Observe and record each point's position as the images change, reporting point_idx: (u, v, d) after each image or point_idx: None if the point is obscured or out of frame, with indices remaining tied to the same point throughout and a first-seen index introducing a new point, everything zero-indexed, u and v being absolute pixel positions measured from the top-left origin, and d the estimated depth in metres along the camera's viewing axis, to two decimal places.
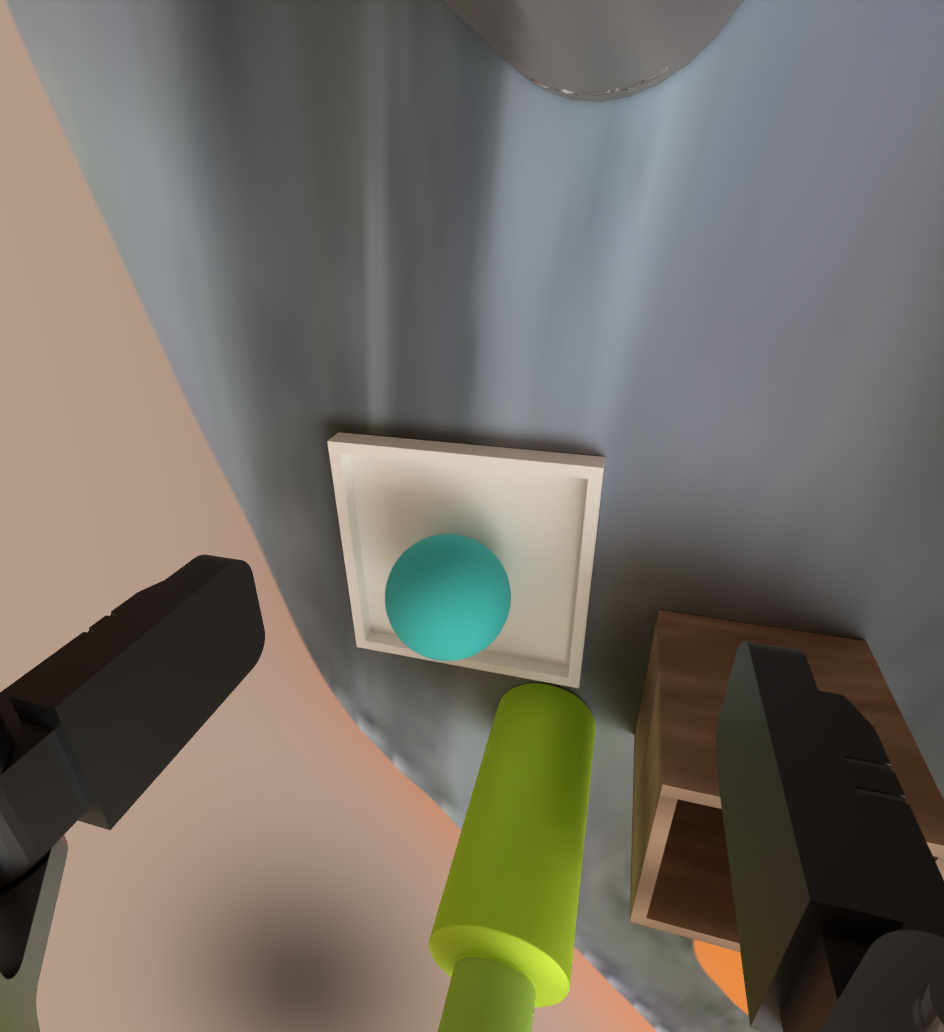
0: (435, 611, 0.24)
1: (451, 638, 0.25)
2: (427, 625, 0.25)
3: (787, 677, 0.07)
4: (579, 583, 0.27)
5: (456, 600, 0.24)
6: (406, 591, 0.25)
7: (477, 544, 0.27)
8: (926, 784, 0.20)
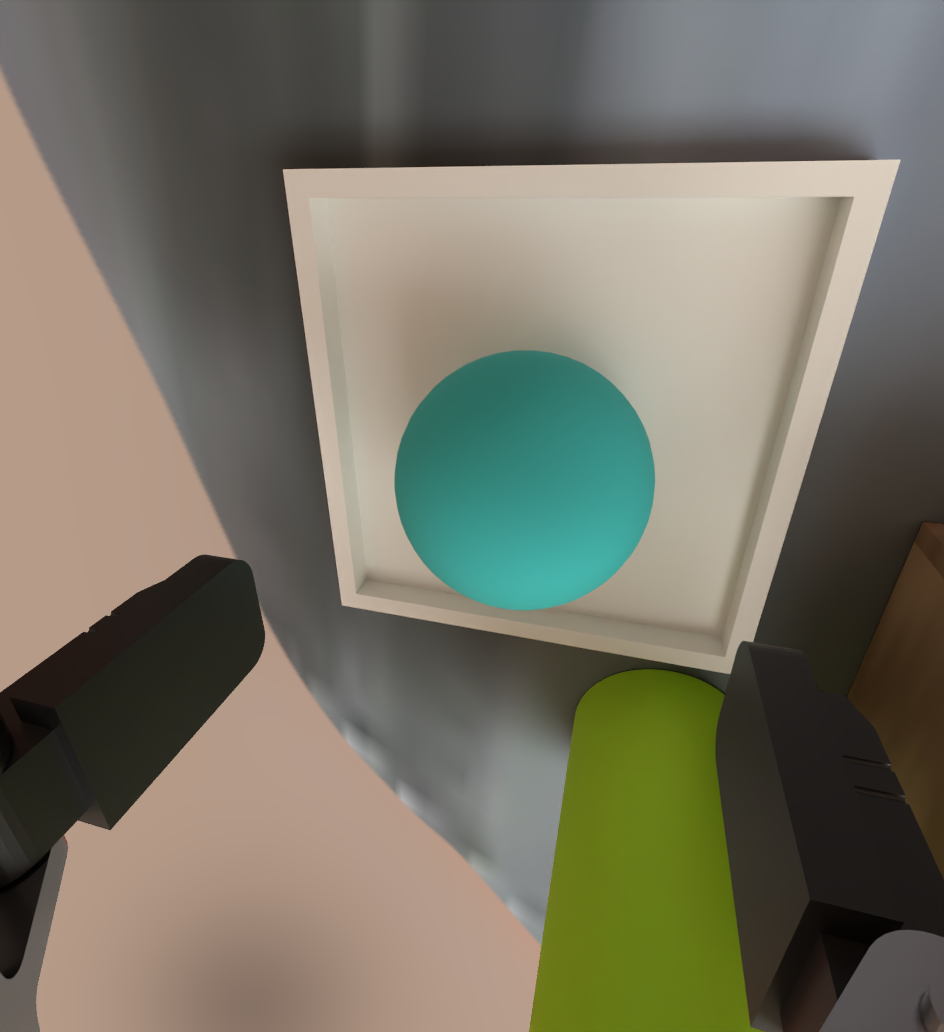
0: (514, 482, 0.11)
1: (547, 548, 0.11)
2: (494, 516, 0.11)
3: (787, 677, 0.07)
4: (783, 460, 0.14)
5: (562, 458, 0.11)
6: (444, 444, 0.11)
7: (588, 367, 0.13)
8: None
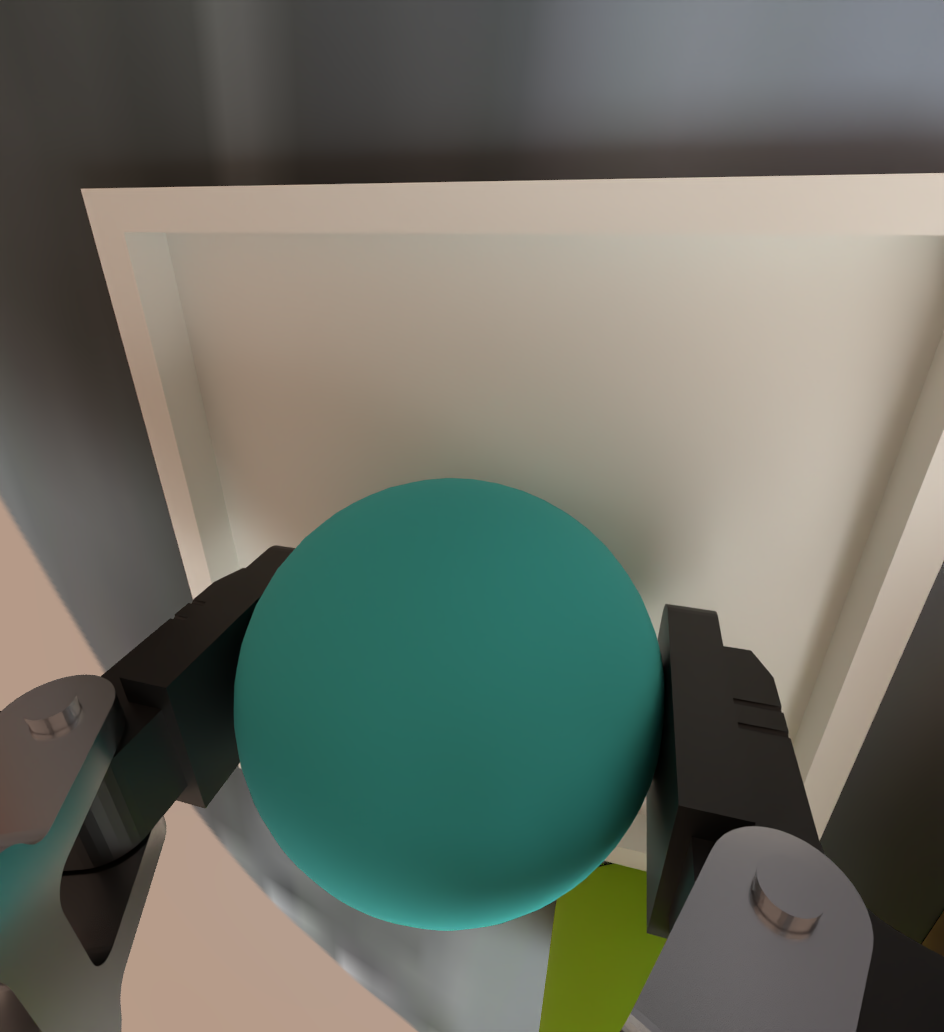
0: (401, 783, 0.06)
1: (468, 889, 0.06)
2: (365, 838, 0.06)
3: (697, 633, 0.08)
4: (866, 640, 0.09)
5: (492, 734, 0.06)
6: (284, 686, 0.06)
7: (553, 507, 0.08)
8: None
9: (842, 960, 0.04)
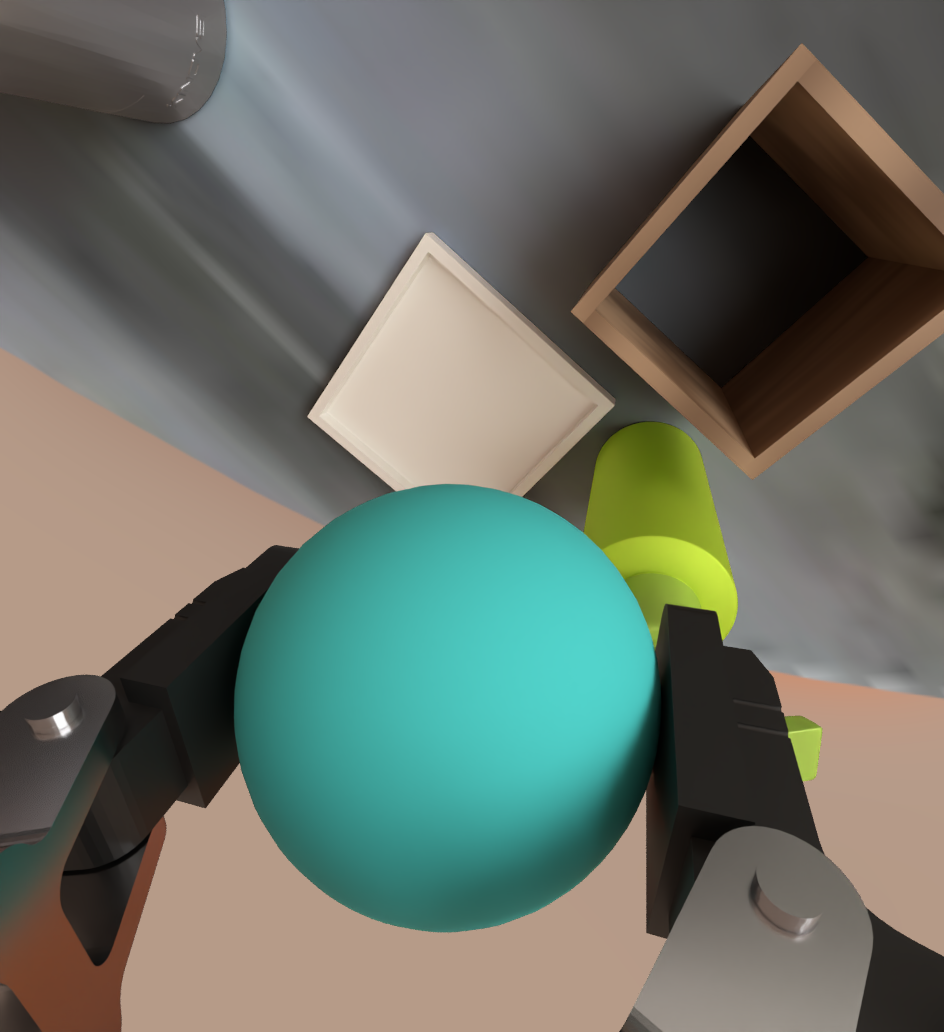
0: (399, 787, 0.06)
1: (466, 891, 0.06)
2: (364, 841, 0.06)
3: (697, 633, 0.08)
4: (511, 324, 0.30)
5: (489, 738, 0.06)
6: (284, 691, 0.06)
7: (550, 513, 0.08)
8: None
9: (842, 960, 0.04)
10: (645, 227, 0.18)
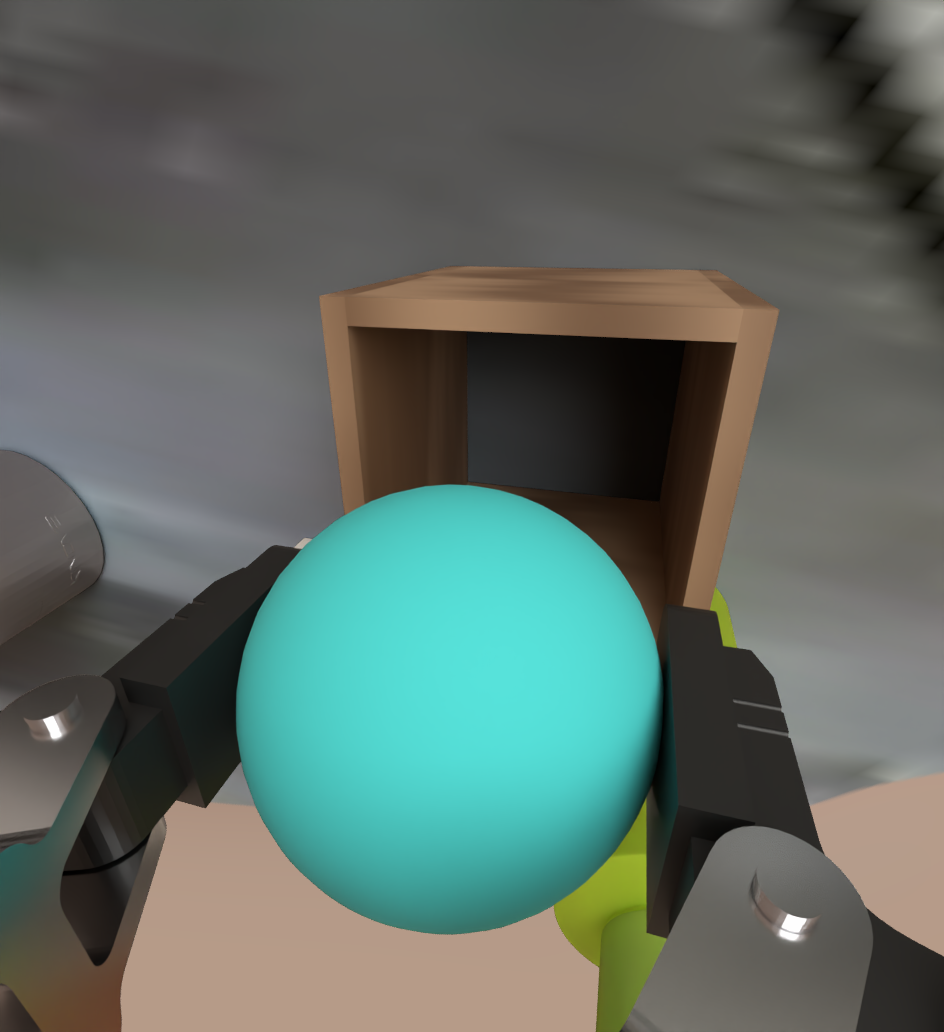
0: (402, 791, 0.06)
1: (469, 894, 0.06)
2: (367, 844, 0.06)
3: (697, 633, 0.08)
4: None
5: (493, 741, 0.06)
6: (286, 693, 0.06)
7: (554, 514, 0.08)
8: None
9: (842, 960, 0.04)
10: None
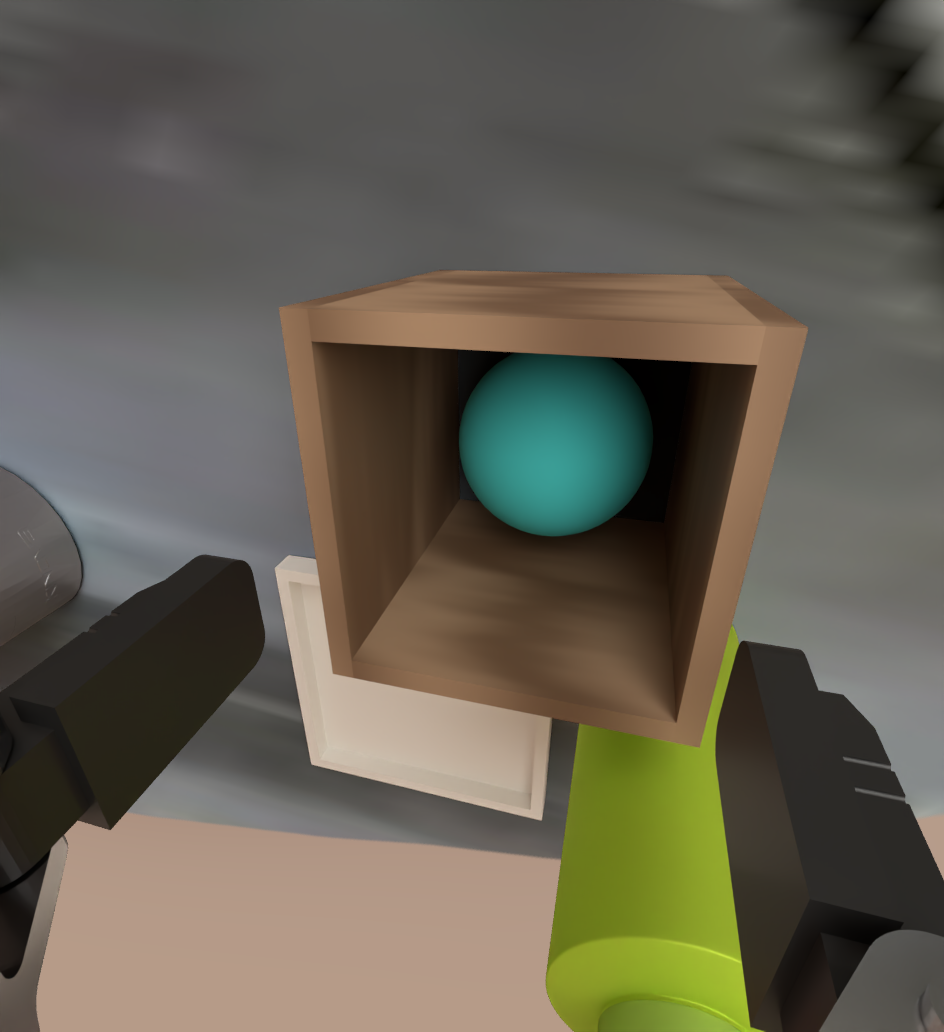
0: (554, 432, 0.15)
1: (577, 479, 0.15)
2: (540, 456, 0.15)
3: (787, 677, 0.07)
4: None
5: (588, 414, 0.15)
6: (503, 407, 0.16)
7: None
8: None
9: None
10: (318, 563, 0.14)
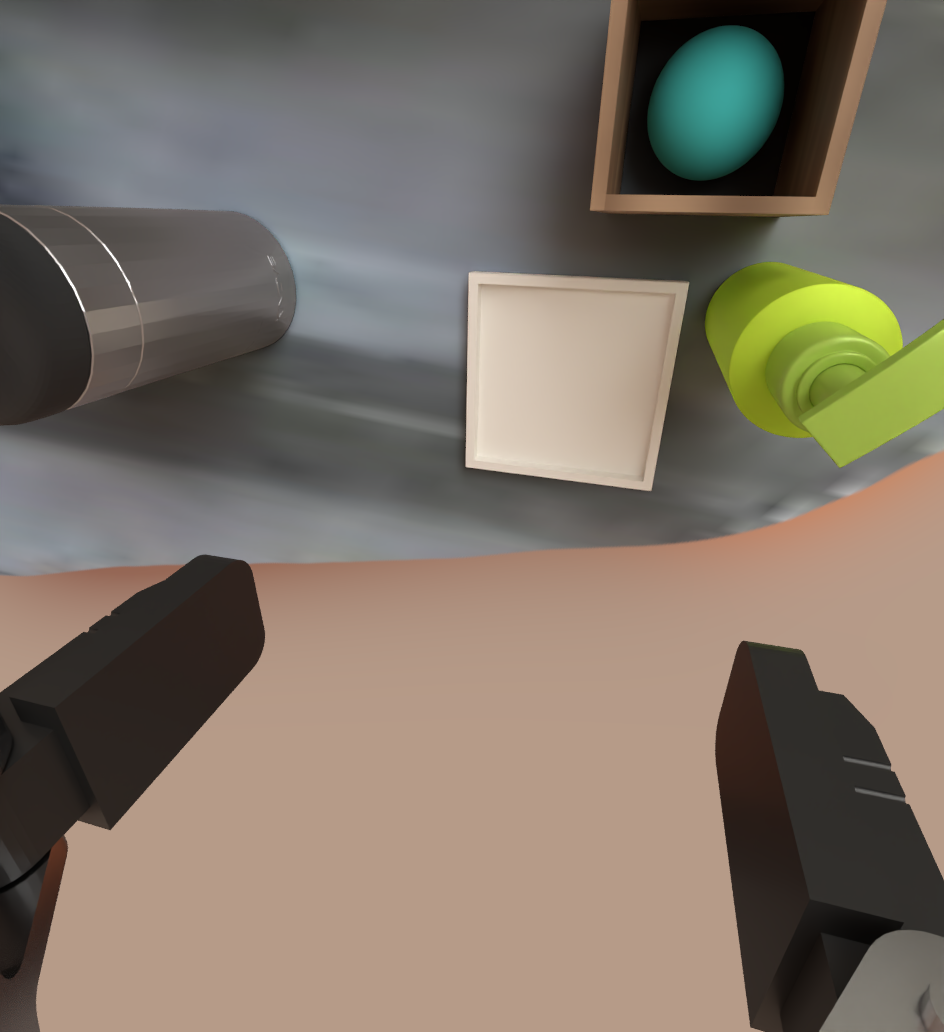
0: (732, 61, 0.24)
1: (743, 96, 0.25)
2: (722, 78, 0.24)
3: (787, 677, 0.07)
4: (567, 286, 0.34)
5: (753, 51, 0.24)
6: (696, 53, 0.25)
7: None
8: None
9: None
10: (601, 111, 0.23)
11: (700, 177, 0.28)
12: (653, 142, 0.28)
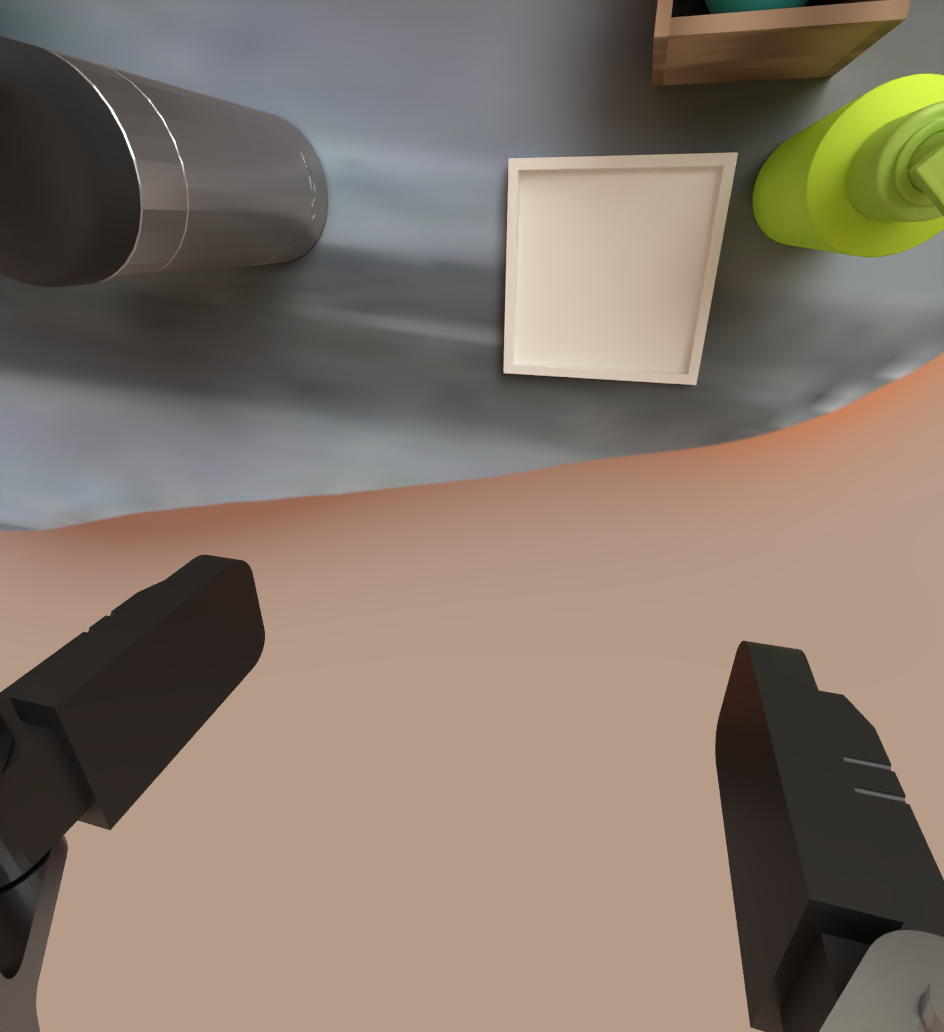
0: None
1: None
2: None
3: (787, 677, 0.07)
4: (611, 166, 0.34)
5: None
6: None
7: None
8: None
9: None
10: None
11: None
12: None
